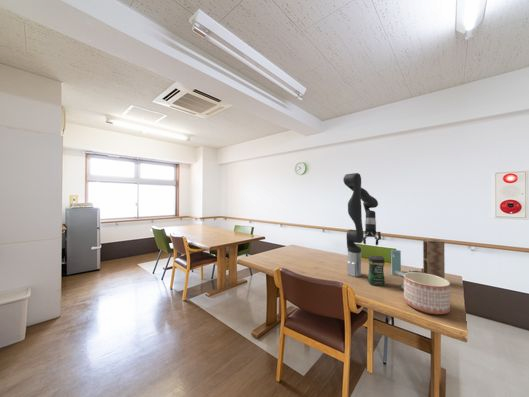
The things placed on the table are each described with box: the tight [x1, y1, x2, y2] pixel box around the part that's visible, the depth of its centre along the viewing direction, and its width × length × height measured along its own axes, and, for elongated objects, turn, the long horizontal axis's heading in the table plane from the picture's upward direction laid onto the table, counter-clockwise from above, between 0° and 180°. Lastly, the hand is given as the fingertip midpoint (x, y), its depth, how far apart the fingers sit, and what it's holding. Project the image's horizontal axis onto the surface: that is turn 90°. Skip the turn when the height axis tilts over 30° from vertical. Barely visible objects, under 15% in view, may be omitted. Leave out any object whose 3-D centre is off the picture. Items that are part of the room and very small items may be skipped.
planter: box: [403, 271, 451, 316], centre depth 111 cm, size 19×19×15 cm
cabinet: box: [401, 238, 446, 279], centre depth 148 cm, size 21×18×28 cm
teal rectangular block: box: [390, 249, 402, 276], centre depth 156 cm, size 6×4×18 cm, turn 72°
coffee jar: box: [367, 255, 386, 287], centre depth 140 cm, size 10×8×19 cm
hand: (370, 244), depth 164 cm, fingers open, 8 cm apart
